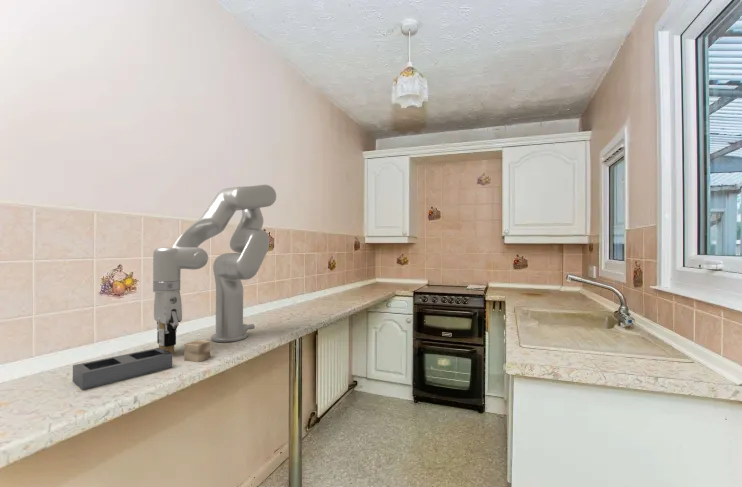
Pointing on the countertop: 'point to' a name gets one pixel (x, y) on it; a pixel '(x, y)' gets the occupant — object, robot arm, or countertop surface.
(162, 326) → the sprinkles bottle
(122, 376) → the grey compartment tray
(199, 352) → the block
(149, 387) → the countertop surface
